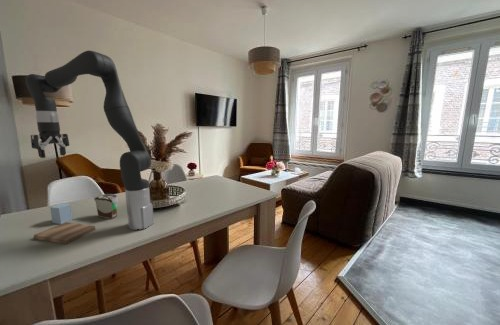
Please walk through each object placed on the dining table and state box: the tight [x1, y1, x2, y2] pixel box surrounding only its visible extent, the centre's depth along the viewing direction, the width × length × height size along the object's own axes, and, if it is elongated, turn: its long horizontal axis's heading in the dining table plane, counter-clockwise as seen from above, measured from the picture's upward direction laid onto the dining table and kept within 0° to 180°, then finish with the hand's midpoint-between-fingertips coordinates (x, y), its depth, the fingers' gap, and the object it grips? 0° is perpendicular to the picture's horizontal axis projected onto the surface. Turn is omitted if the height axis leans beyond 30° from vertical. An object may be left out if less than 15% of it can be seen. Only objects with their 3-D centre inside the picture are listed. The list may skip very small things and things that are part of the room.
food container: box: [93, 193, 119, 220], centre depth 108 cm, size 12×6×10 cm, turn 71°
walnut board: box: [33, 221, 96, 245], centre depth 90 cm, size 16×12×2 cm
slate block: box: [49, 203, 73, 225], centre depth 101 cm, size 5×5×8 cm
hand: (53, 156), depth 103 cm, fingers open, 8 cm apart
